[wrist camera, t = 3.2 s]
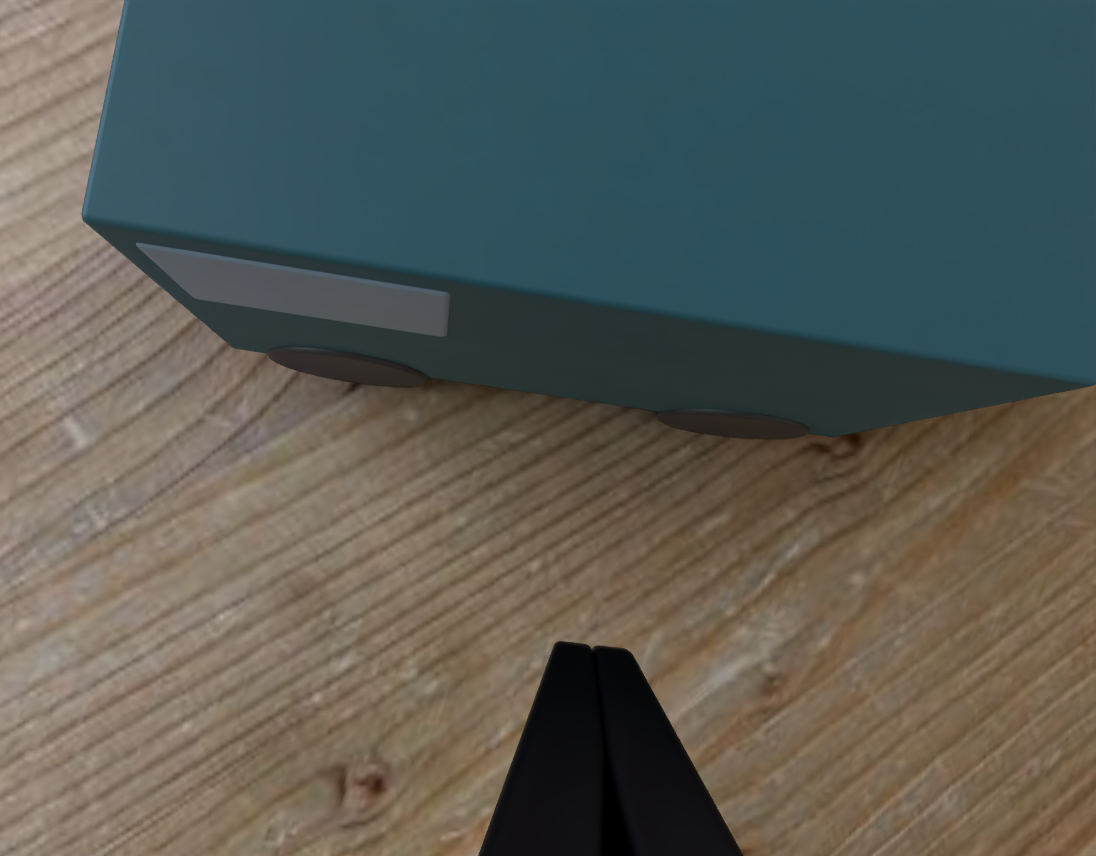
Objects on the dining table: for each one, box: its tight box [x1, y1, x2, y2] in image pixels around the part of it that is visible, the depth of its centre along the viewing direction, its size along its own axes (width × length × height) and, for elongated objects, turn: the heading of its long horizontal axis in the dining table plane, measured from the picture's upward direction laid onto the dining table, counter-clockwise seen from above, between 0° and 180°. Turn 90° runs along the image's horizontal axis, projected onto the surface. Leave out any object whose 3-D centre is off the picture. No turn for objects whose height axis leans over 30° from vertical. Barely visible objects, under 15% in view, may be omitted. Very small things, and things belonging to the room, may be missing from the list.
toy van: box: [82, 0, 1096, 439], centre depth 14 cm, size 12×6×8 cm, turn 83°
